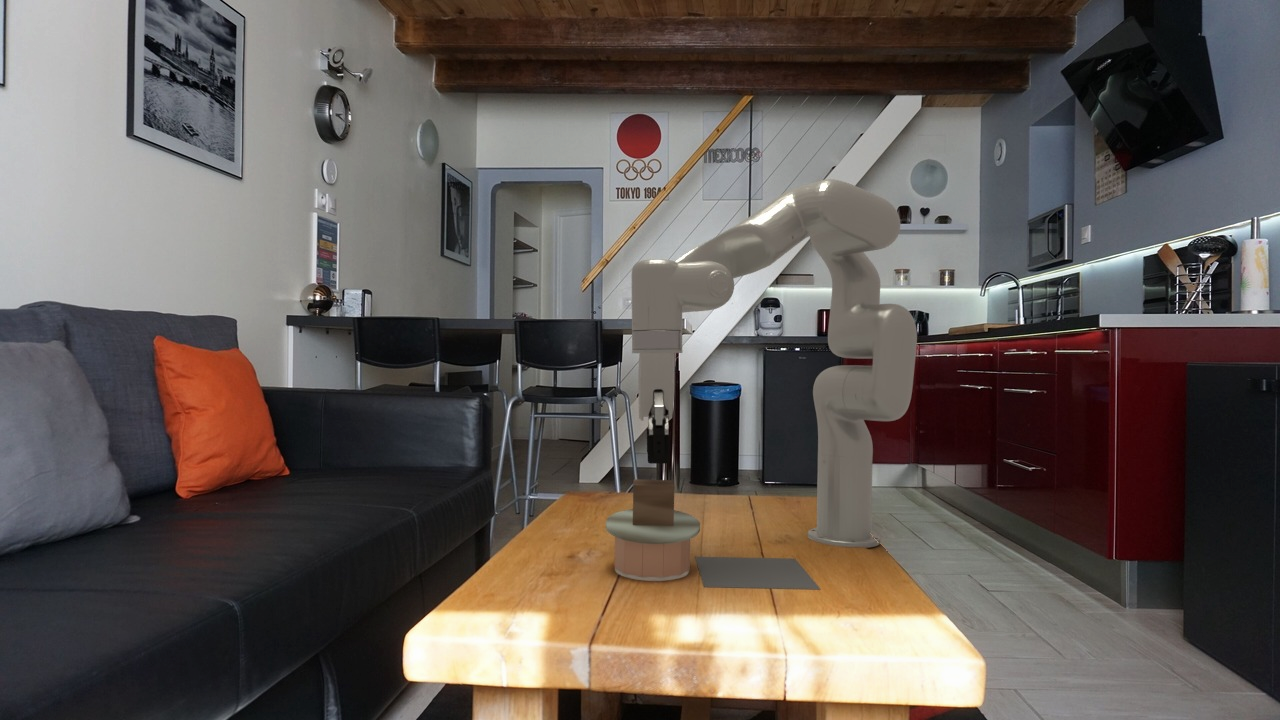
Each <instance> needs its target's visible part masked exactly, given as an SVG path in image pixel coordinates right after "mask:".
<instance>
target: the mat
mask: <svg viewBox="0 0 1280 720" xmlns="http://www.w3.org/2000/svg"><path fill="white" fill-rule="evenodd" d="M694 557H695V558H694V559H695V562H696V565H697V569H698V572H699V576H700V577H701V582H702V585H703V588H709V589H710V588H714V589H715V588H717V589H762V590H763V589H764V590H765V589H766V590H767V589H768V590H809V591H810V590H813V591H815V590H818V591H821V589H822V588H821V587H820V586H819V585H818V584H817V583H816V582H815V580H814V579H813V577H812V576H811V575H810V574H809V573H808V571H806V569H805V568H804V567H803V566H802V565H801V563H800V562H799V561H798V560H797V558H787V557H786V558H783V557H782V558H781V557H778V558H777V557H740V556H739V557H737V556H735V557H733V556H694Z"/></svg>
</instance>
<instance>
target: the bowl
mask: <svg viewBox="0 0 1280 720" xmlns="http://www.w3.org/2000/svg"><path fill="white" fill-rule="evenodd" d="M614 537H615V536H614ZM614 541H615V542H614V571H615V573H616V574H617V575H619V576H621V577H624V578H627V579H631V580H637V581H646V582H663V581H672V580H677V579H682V578H684V577H686V576H687V575H689V573H690V569H691V539H688V540H685V541H680V542H675V543H666V544H647V543H638V542H632V541H627V540H623V539H620V538H617V537H615V538H614Z"/></svg>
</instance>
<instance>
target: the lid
mask: <svg viewBox="0 0 1280 720" xmlns="http://www.w3.org/2000/svg"><path fill="white" fill-rule="evenodd" d="M675 487H676V486H675V481H674V479H671V480H670V479H638V478H637V479H635V478H634V479H633V488H632V489H633V490H632V493H633V494H632V508H631V509H624V510H621V511H618V512H614V513H613V514H610V515H609V516H608V517H606V520H605V530H606V532H608V533H609V534H610V535H611V536H613V537H617V538H620V539H623V540H627V541H632V542H638V543H647V544H666V543H675V542H680V541H685V540H688V539H690V540H692V539H693V538H695V537H696V536H697V535H699V533H700V532H701V523H700V520H698V518H697V517H695V516H693V515H692V514H690V513H687V512H683V511H679V510H675Z"/></svg>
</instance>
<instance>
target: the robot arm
mask: <svg viewBox="0 0 1280 720" xmlns="http://www.w3.org/2000/svg"><path fill="white" fill-rule="evenodd" d="M900 231H901V219H900V215H899V213H898V211H897V209H896V208H895V206H894V205H893V204H892V203H891V202H890V201H889V200H887V199H886V198H883V197H881V196H879V195H878V194H874V193H873V192H870V191H867V190H866V189H863V188H861V187H858V186H857V185H854V184H851V183H848V182H847V181H843V180H839V179H835V178H833V179H831V178H827V179H822V180H819V181H816V182H811V183H808V184H805V185H801V186H797V187H794V188H791V189H789V190H787V191H785V192H783V193H781V194H780V195H779V196H777V197H776V198H774V199H773V200H772V201H770V202H768V203H767V204H766V205H765V206H763V207H762V208H760V209H759V210H757V211H756V212H755V213H753V214H752V215H749V216H748V217H747V218H746V219H744V220H743V221H741V222H739V223H738V224H736V225H734V226H732V227H730V228H728V229H726V230H724V231H723V232H721V233H720V234H718V235H716V236H714V237H713V238H711V239H708V240H707V241H705V242H702V243H701V244H700V245H698V246H695V247H694V248H692V249H691V250H689V251H688V252H686V253H684V254H682V256H680V257H679V258H677V259H676V260H671V259H662V258H661V259H658V258H657V259H656V258H655V259H644V260H643V259H642V260H640V261H637V262H636V263H635V264H633V267H632V268H631V331H632V332H631V349H632V350H631V354H639V355H638V369H637V371H638V372H637V375H638V381H637V382H638V383H637V384H638V391H637V393H638V419H639V420H640V421H642V422H643V421H644V418H645V417H646V418H647V417H648V418H647V420H648V421H647V424H648V426H647V427H648V428H646V452H647V463H649V464H651V465H652V464H669V463H670V462H671V435H670V434H669V421H670V420H671V419H673V413H674V402H675V401H674V400H675V354H683V314H684V313H692V312H705V311H714V310H716V309H719V308H721V307H723V306H725V305H726V304H727V303H728V302H729V301H730V300H731V298H732V296H733V294H734V290H735V280H734V279H737V278H740V277H744V276H747V275H750V274H753V273H756V272H758V271H759V272H760V270H763V269H765V268H767V267H769V266H771V265H772V264H774V263H775V262H776V261H778V260H779V259H780V258H782V257H783V256H784V255H785V254H787V253H788V252H789V251H791V250H792V249H793V248H795V247H796V246H797V245H798V244H800V243H801V242H802V241H804V240H805V239H807V238H809V239H810V244H812V247H813V249H814V250H815V251H816V253H817V254H818V256H820V258H821V259H822V260H823V262H824V264H825V265H826V267H827V269H828V271H829V274H830V277H831V299H830V300H831V301H830V308H829V318H828V329H827V344H828V348H829V350H830V351H831V352H832V354H834V355H835V356H837V357H841V358H845V359H872V365H863V364H862V365H861V364H860V365H856V364H855V365H852V364H851V365H850V364H849V365H848V364H847V365H844V364H842V365H835V366H831V367H828V368H826V369H824V370H823V371H821V372H820V373H819V374H818V375H817V376H816V378H815V381H814V384H813V387H812V388H813V389H812V396H813V403H814V409H815V413H816V422H817V436H818V437H817V438H818V439H817V441H818V442H817V484H816V487H817V489H816V493H817V495H816V496H817V497H816V527H814V528H811V529H809V530H808V531H807V538H808V539H809V540H811V541H813V542H817V543H819V544H823V545H827V546H828V545H829V546H835V547H845V548H866V549H868V548H875V547H877V546H879V545H881V536H880V535H879V534H878V533H875V532H873V531H872V519H873V518H872V517H873V515H872V513H873V511H872V508H873V507H872V505H873V503H872V502H873V455H874V454H873V453H874V448H873V447H874V446H873V445H874V444H873V440H872V435H871V434H870V430H869V429H868V426H867V424H866V422H865V421H875V422H892V421H893V422H894V421H896V420H899V419H901V418H902V417H903V416H904V415H906V413H907V411H908V409H909V406H910V403H911V400H912V393H913V386H914V376H915V375H914V374H915V365H916V355H917V344H918V343H917V342H918V331H917V326H916V322H915V320H914V317H913V315H912V314H911V312H910V311H909V310H908V309H907V308H906V307H904V306H902V305H900V304H896V303H880V300H881V299H880V297H881V278H880V274H879V271H878V270H877V268H876V266H875V265H874V263H873V262H872V261H871V259H870V258H869V256H867V254H866V252H874V251H880V250H882V249H886V248H887V247H888V248H889V246H891V245H892V244H893V243H894V242H895V241H896V240H897V239H898V237H899V234H900ZM870 533H871V534H872V535H873V537H872V535H871V534H870ZM874 538H875V539H876V540H877V541H878V542H879V543H877V541H876V540H875V539H874Z"/></svg>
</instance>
